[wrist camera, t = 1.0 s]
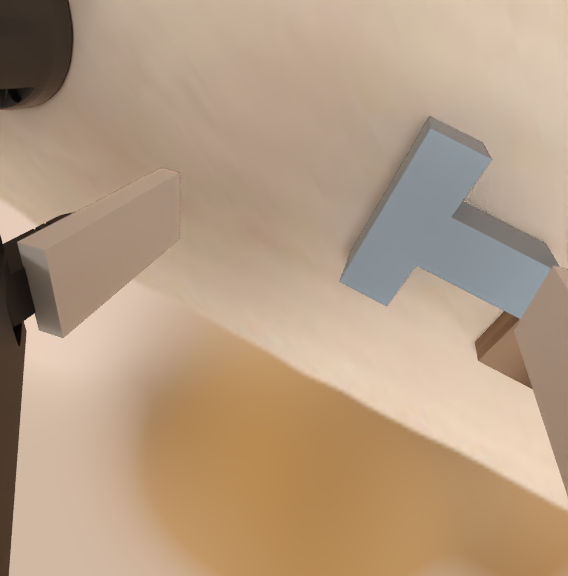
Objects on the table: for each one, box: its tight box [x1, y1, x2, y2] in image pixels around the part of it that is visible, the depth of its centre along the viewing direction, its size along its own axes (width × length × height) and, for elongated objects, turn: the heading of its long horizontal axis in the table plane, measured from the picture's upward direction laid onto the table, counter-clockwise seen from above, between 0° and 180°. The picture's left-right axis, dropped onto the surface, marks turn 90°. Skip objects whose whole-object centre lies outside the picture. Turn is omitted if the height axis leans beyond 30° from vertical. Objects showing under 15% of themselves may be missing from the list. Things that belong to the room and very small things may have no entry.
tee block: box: [339, 116, 560, 319], centre depth 29 cm, size 12×12×5 cm
